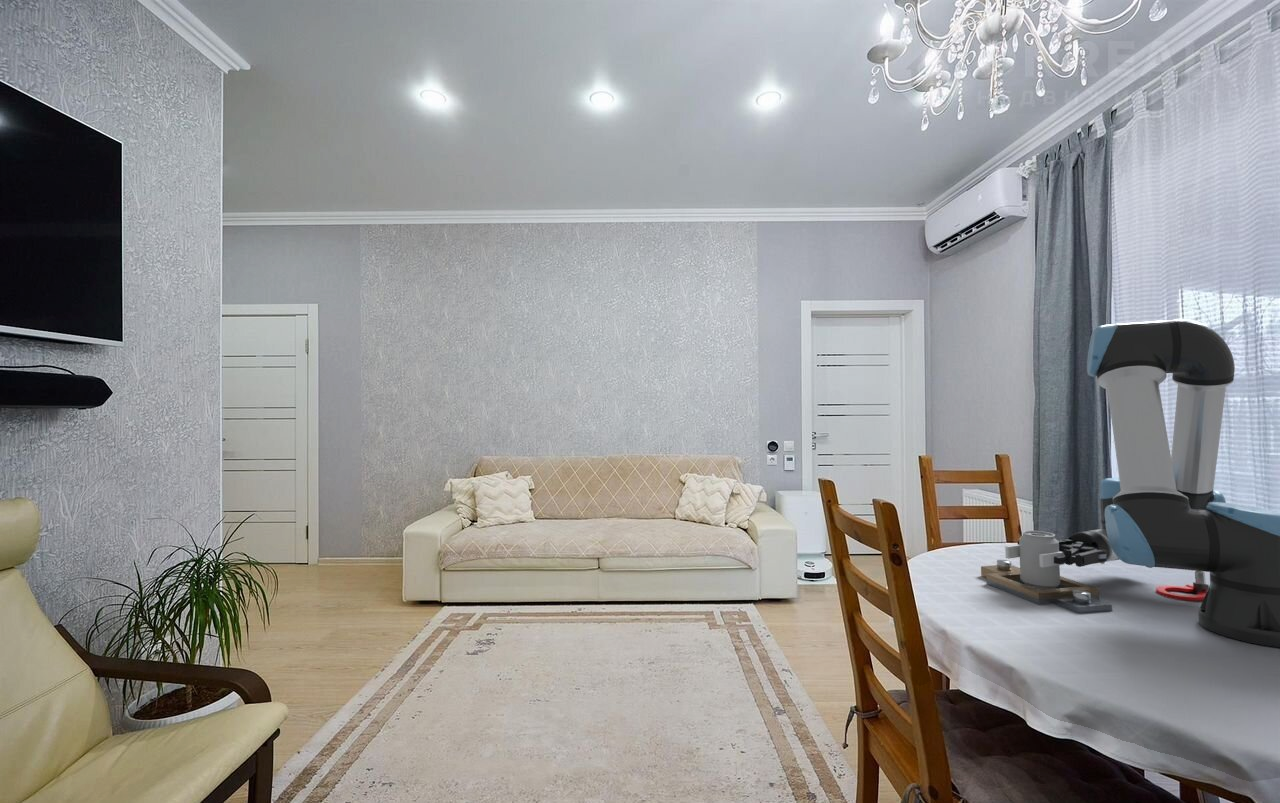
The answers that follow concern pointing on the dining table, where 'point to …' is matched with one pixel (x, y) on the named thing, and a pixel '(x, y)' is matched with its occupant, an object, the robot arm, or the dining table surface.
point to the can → (1029, 559)
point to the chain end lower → (1063, 599)
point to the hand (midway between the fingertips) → (1023, 556)
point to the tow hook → (1187, 589)
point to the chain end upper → (1008, 573)
